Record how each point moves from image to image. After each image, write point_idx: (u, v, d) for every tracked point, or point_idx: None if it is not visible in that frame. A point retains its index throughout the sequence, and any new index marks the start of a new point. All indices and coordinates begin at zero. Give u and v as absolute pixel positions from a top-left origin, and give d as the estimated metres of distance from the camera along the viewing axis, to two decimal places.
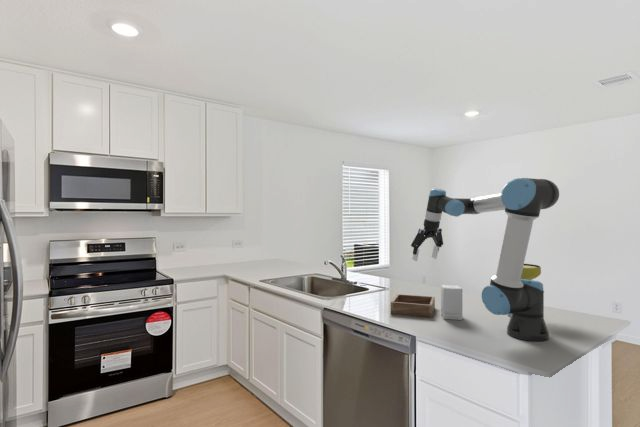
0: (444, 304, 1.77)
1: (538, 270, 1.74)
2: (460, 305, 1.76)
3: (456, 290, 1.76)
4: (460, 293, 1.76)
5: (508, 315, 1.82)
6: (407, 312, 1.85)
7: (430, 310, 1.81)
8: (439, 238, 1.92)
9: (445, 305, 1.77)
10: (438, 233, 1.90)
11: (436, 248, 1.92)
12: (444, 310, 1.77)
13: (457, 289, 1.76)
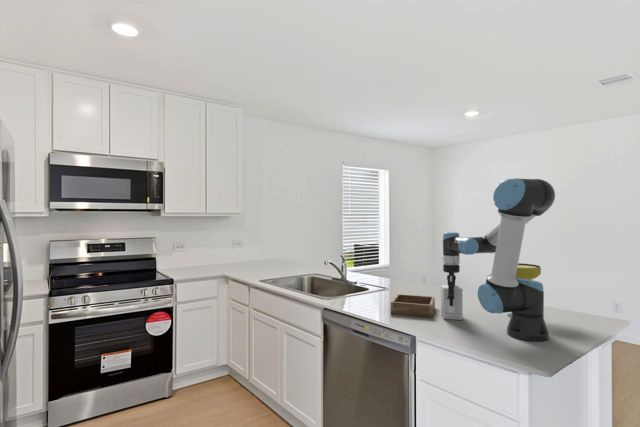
0: (444, 304, 1.77)
1: (538, 270, 1.74)
2: (460, 305, 1.76)
3: (456, 290, 1.76)
4: (460, 293, 1.76)
5: (508, 315, 1.82)
6: (407, 312, 1.85)
7: (430, 310, 1.81)
8: None
9: (445, 305, 1.77)
10: None
11: None
12: (444, 310, 1.77)
13: (457, 289, 1.76)
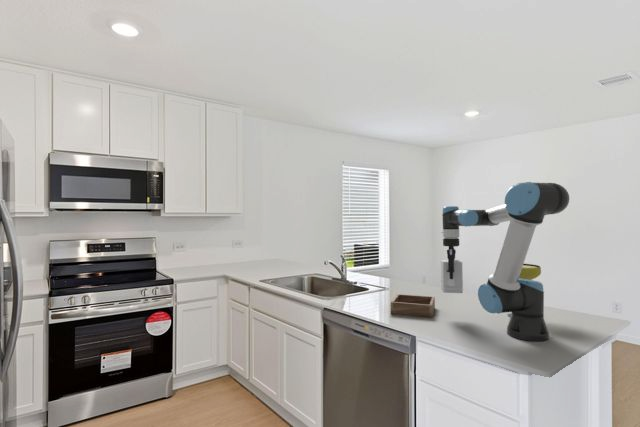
0: (444, 278, 1.77)
1: (538, 270, 1.74)
2: (460, 278, 1.76)
3: (456, 263, 1.76)
4: (460, 266, 1.76)
5: (508, 315, 1.82)
6: (407, 312, 1.85)
7: (430, 310, 1.81)
8: None
9: (445, 279, 1.77)
10: None
11: None
12: (444, 284, 1.77)
13: (457, 262, 1.76)
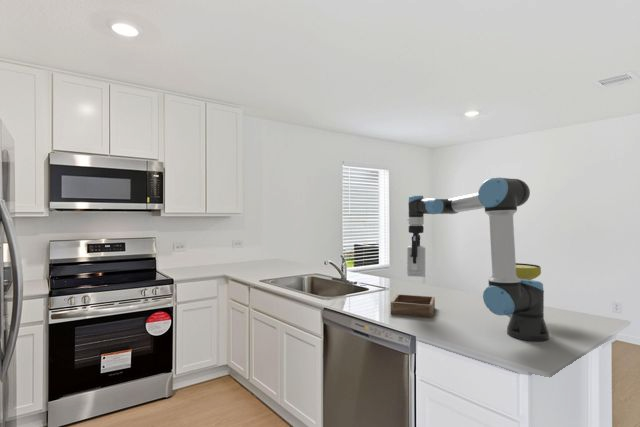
0: (408, 262, 1.89)
1: (538, 270, 1.74)
2: (423, 263, 1.88)
3: (419, 249, 1.88)
4: (423, 251, 1.88)
5: (508, 315, 1.82)
6: (407, 312, 1.85)
7: (430, 310, 1.81)
8: (418, 245, 1.98)
9: (409, 263, 1.89)
10: None
11: None
12: (408, 268, 1.89)
13: (420, 248, 1.88)
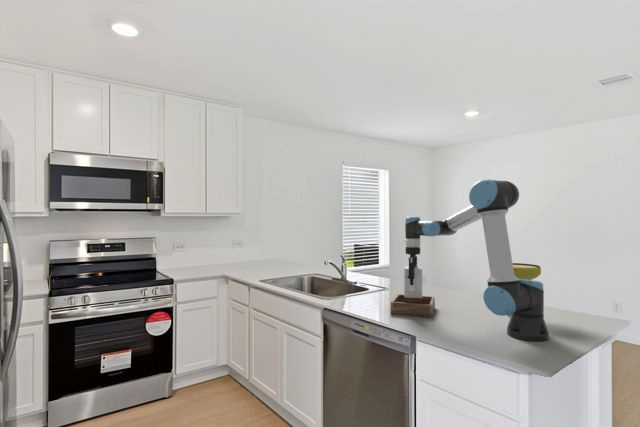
0: (405, 283, 1.90)
1: (538, 270, 1.74)
2: (420, 284, 1.89)
3: (416, 270, 1.89)
4: (420, 273, 1.89)
5: None
6: (407, 312, 1.85)
7: (430, 310, 1.81)
8: (415, 266, 1.99)
9: (406, 284, 1.90)
10: None
11: None
12: (405, 289, 1.90)
13: (417, 269, 1.89)
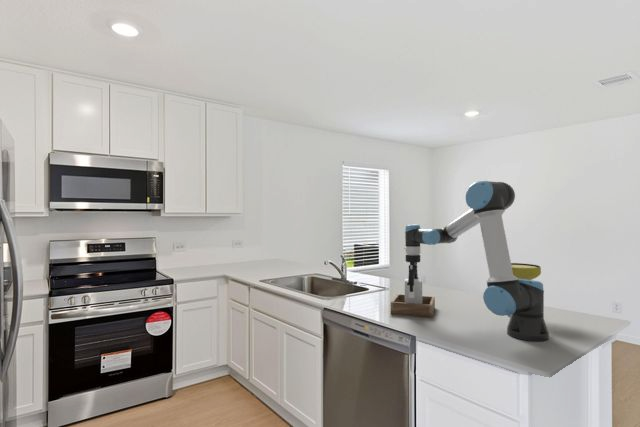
0: (405, 296, 1.91)
1: (538, 270, 1.74)
2: (420, 297, 1.89)
3: (416, 283, 1.90)
4: (420, 286, 1.89)
5: None
6: (407, 312, 1.85)
7: (430, 310, 1.81)
8: None
9: (406, 297, 1.91)
10: None
11: None
12: (405, 301, 1.91)
13: (417, 282, 1.90)
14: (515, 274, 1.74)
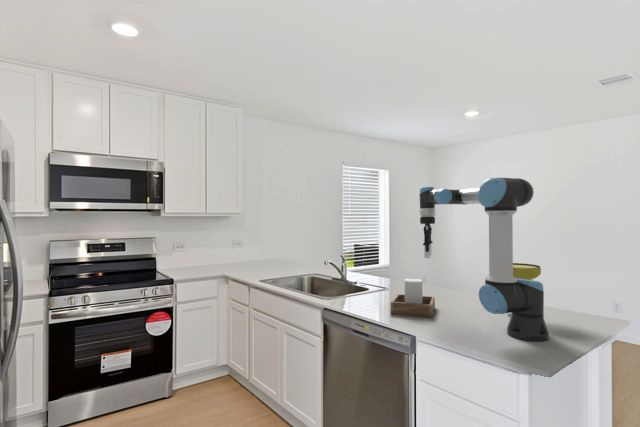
0: (405, 296, 1.91)
1: (538, 270, 1.74)
2: (420, 297, 1.89)
3: (416, 283, 1.90)
4: (420, 286, 1.89)
5: (508, 315, 1.82)
6: (407, 312, 1.85)
7: (430, 310, 1.81)
8: None
9: (406, 297, 1.91)
10: None
11: (429, 245, 2.01)
12: (405, 301, 1.91)
13: (417, 282, 1.90)
14: (515, 274, 1.74)
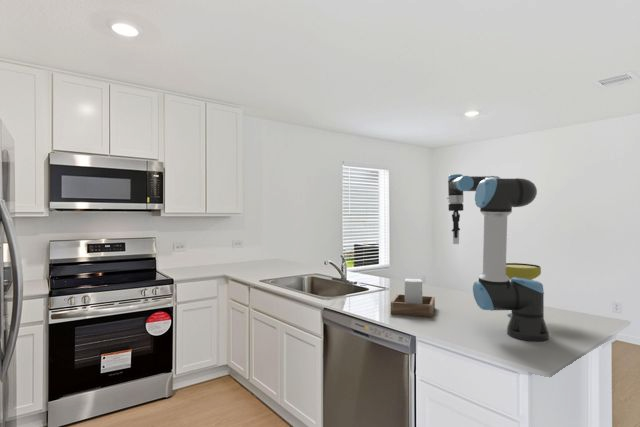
0: (405, 296, 1.91)
1: (538, 270, 1.74)
2: (420, 297, 1.89)
3: (416, 283, 1.90)
4: (420, 286, 1.89)
5: (508, 315, 1.82)
6: (407, 312, 1.85)
7: (430, 310, 1.81)
8: None
9: (406, 297, 1.91)
10: None
11: None
12: (405, 301, 1.91)
13: (417, 282, 1.90)
14: (515, 274, 1.74)
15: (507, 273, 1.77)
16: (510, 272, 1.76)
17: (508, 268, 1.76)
